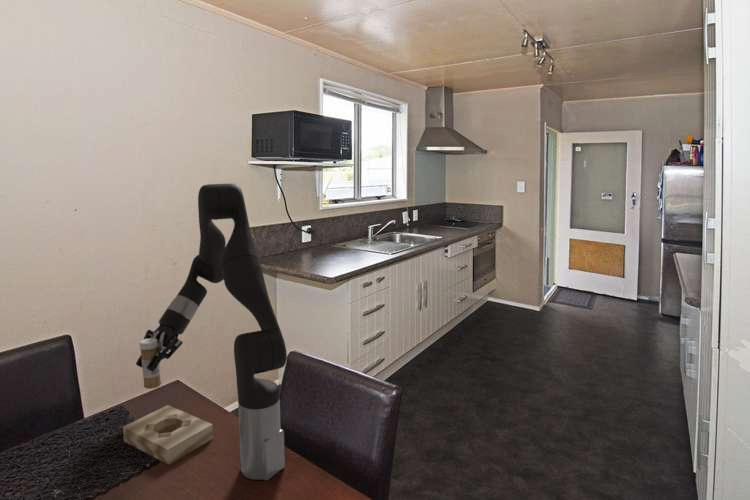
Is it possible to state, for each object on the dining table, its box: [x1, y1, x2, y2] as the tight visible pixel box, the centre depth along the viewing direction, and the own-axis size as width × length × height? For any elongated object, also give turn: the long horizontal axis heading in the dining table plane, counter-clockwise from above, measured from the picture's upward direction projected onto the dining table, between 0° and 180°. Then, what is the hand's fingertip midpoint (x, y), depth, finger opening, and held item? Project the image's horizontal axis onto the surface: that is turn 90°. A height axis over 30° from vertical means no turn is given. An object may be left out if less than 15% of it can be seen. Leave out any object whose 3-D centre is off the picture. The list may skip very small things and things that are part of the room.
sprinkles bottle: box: [139, 338, 162, 390], centre depth 134 cm, size 5×5×14 cm
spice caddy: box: [122, 404, 214, 466], centre depth 122 cm, size 18×13×4 cm
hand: (144, 367), depth 132 cm, fingers closed on sprinkles bottle, 4 cm apart
